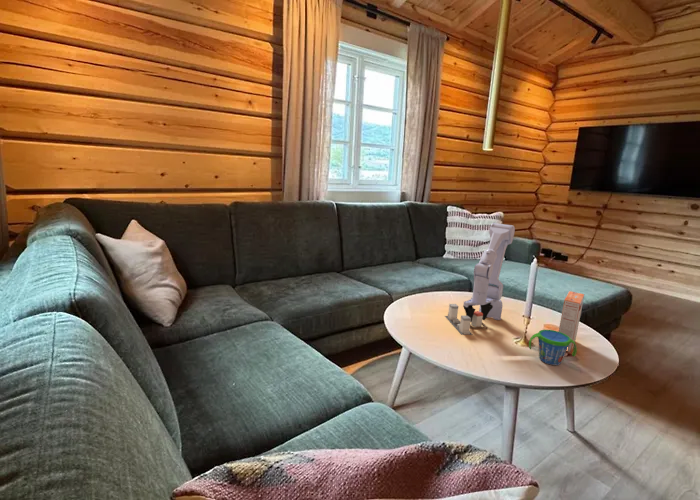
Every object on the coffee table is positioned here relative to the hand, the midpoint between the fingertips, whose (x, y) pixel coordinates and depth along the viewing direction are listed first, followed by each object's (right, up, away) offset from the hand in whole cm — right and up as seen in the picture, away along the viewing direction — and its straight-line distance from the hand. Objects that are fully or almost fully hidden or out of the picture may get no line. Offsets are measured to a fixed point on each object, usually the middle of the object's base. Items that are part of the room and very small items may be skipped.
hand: (475, 320), depth 165 cm
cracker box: (+32, -8, -11) cm, 35 cm away
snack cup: (+19, -11, -25) cm, 33 cm away
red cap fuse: (0, -3, 0) cm, 3 cm away
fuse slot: (-7, -3, -7) cm, 10 cm away
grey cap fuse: (-9, 0, +6) cm, 11 cm away
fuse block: (-8, -3, 0) cm, 9 cm away
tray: (0, -3, +1) cm, 3 cm away
